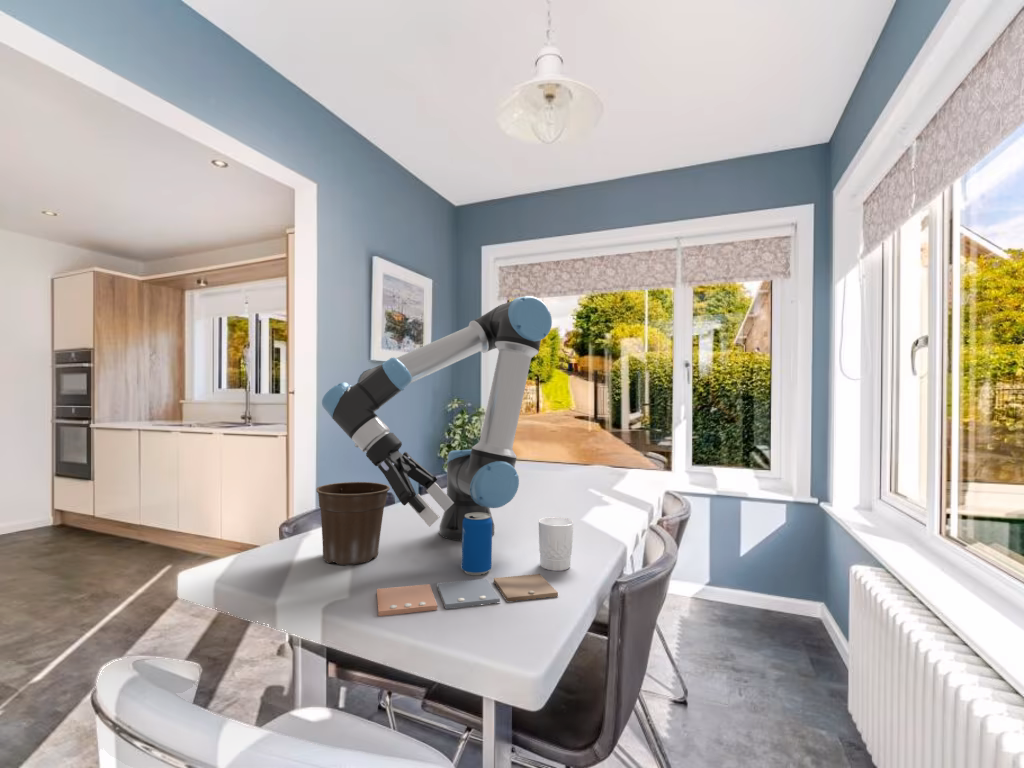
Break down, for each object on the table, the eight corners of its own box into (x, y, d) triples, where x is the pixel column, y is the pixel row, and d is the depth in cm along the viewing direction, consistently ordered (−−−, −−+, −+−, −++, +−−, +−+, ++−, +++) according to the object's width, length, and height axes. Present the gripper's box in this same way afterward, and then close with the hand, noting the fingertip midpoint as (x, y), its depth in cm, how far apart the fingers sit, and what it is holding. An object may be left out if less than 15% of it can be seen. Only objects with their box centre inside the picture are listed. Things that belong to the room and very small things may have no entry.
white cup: (550, 557, 115) (551, 515, 115) (579, 565, 110) (580, 521, 110) (530, 566, 109) (531, 521, 109) (560, 574, 104) (560, 527, 104)
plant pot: (373, 542, 124) (375, 479, 124) (398, 560, 111) (400, 489, 111) (306, 553, 114) (308, 484, 115) (325, 574, 101) (327, 496, 102)
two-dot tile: (437, 587, 96) (437, 582, 96) (486, 582, 99) (486, 577, 99) (445, 608, 86) (445, 603, 86) (499, 603, 89) (499, 597, 89)
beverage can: (458, 567, 107) (459, 512, 107) (486, 564, 109) (487, 511, 110) (465, 578, 101) (467, 520, 101) (495, 574, 103) (496, 517, 104)
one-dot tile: (493, 582, 99) (493, 577, 99) (539, 577, 102) (539, 572, 102) (507, 602, 89) (507, 596, 89) (557, 596, 92) (557, 591, 92)
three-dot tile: (376, 593, 92) (376, 587, 92) (429, 588, 95) (429, 583, 95) (378, 616, 83) (378, 610, 83) (437, 609, 86) (437, 604, 86)
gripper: (385, 448, 120) (443, 512, 118) (341, 461, 95) (413, 542, 93) (407, 427, 119) (465, 491, 118) (368, 435, 95) (441, 516, 93)
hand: (442, 514), depth 105 cm, fingers open, 13 cm apart
